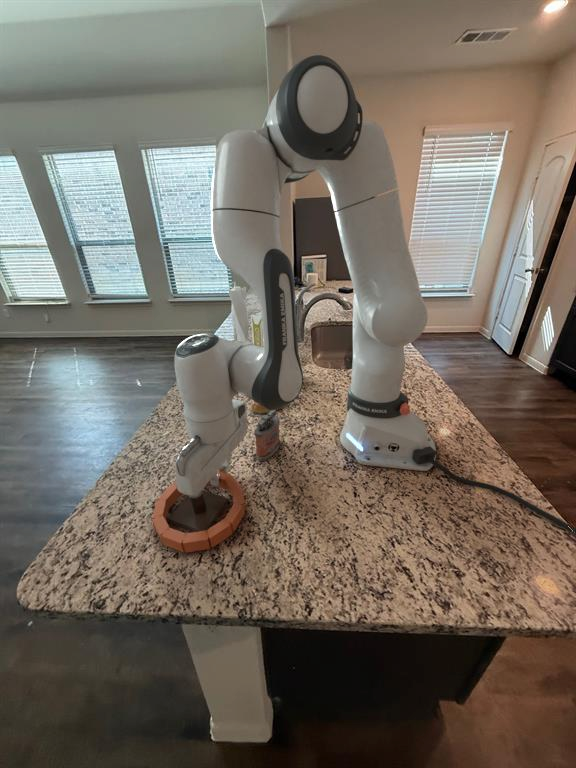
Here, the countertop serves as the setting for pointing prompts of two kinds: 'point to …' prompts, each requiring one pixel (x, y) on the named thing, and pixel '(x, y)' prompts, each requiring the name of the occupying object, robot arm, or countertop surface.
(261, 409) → the pastry
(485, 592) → the countertop surface
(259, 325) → the juice carton
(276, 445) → the lighter
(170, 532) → the ring
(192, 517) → the peg stand
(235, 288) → the skyscraper
